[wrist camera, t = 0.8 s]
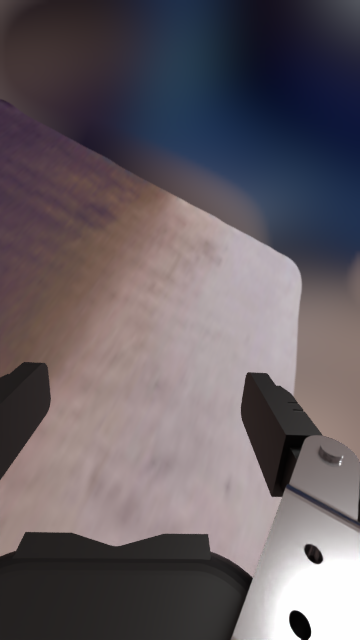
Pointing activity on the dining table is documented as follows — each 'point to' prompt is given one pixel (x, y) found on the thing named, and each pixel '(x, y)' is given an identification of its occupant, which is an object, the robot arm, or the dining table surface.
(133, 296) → the dining table surface
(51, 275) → the dining table surface
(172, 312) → the dining table surface
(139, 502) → the dining table surface
